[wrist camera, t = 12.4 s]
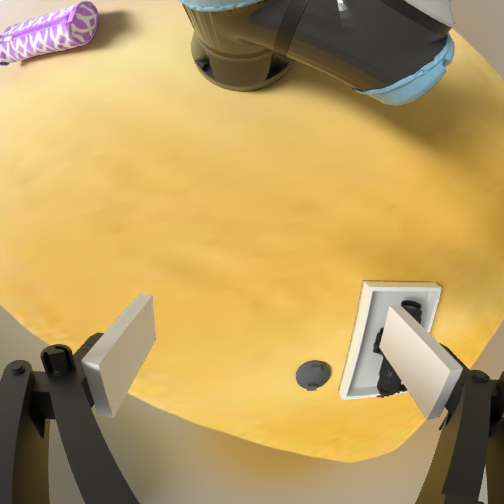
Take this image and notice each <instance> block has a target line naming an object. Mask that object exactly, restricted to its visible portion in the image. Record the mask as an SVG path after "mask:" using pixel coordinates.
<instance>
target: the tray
mask: <svg viewBox="0 0 504 504" xmlns="http://www.w3.org/2000/svg"><path fill="white" fill-rule="evenodd" d="M441 289H442V287H440V286H439V285H437V284H436V283H434V282H415V281H374V280H363V282H362V288H361V293H360V299H359V304H358V309H357V314H356V319H355V324H354V328H353V333H352V337H351V342H350V346H349V350H348V355H347V359H346V363H345V367H344V370H343V374H342V378H341V382H340V385H339V389H338V391H339V393H340V396H341V399H342V400H345V399H357V398H368V397H377V396H378V395H381V394H379V391H378V389H377V383H378V380H379V377H380V376H379V371H380V368H381V364H382V361H383V356H382V355H380V354H377V353H374V352H373V348H374V347H373V346H374V345H373V344H374V343H375V340H376V336H377V333H378V331H379V333H380V329H381V328H383V329H384V327H385V323H386V319H387V314H388V310H389V306H401V302H402V301H404V300H412V301H415V302H418V303H419V304H421V309H420V310H421V311H422V315H421V319H422V320H421V324H420V325H421V326H422V327H423V328H424V329H425V330H426V331H427V332H428V333H430V330H431V326H432V323H433V320H434V316H435V312H436V309H437V305H438V301H439V297H440V293H441ZM402 384H403V382H402V383H401V385H402ZM407 392H408V391H406V392H401V391H400V393H407ZM400 393H395V394H400Z"/></svg>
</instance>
